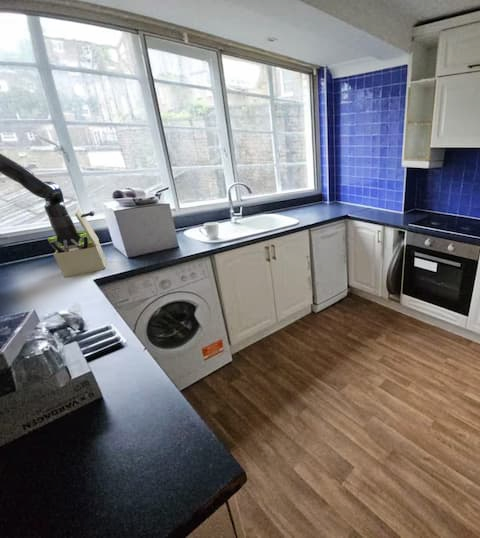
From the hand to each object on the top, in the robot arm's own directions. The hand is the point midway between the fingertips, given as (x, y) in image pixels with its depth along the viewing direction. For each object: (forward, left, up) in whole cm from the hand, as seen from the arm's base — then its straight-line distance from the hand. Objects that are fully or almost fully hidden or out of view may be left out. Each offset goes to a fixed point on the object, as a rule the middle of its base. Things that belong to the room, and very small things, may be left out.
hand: (77, 258), depth 147 cm
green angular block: (-4, +30, -6) cm, 31 cm away
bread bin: (+2, 0, -6) cm, 6 cm away
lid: (+8, 0, +14) cm, 16 cm away
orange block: (0, 0, -4) cm, 4 cm away
